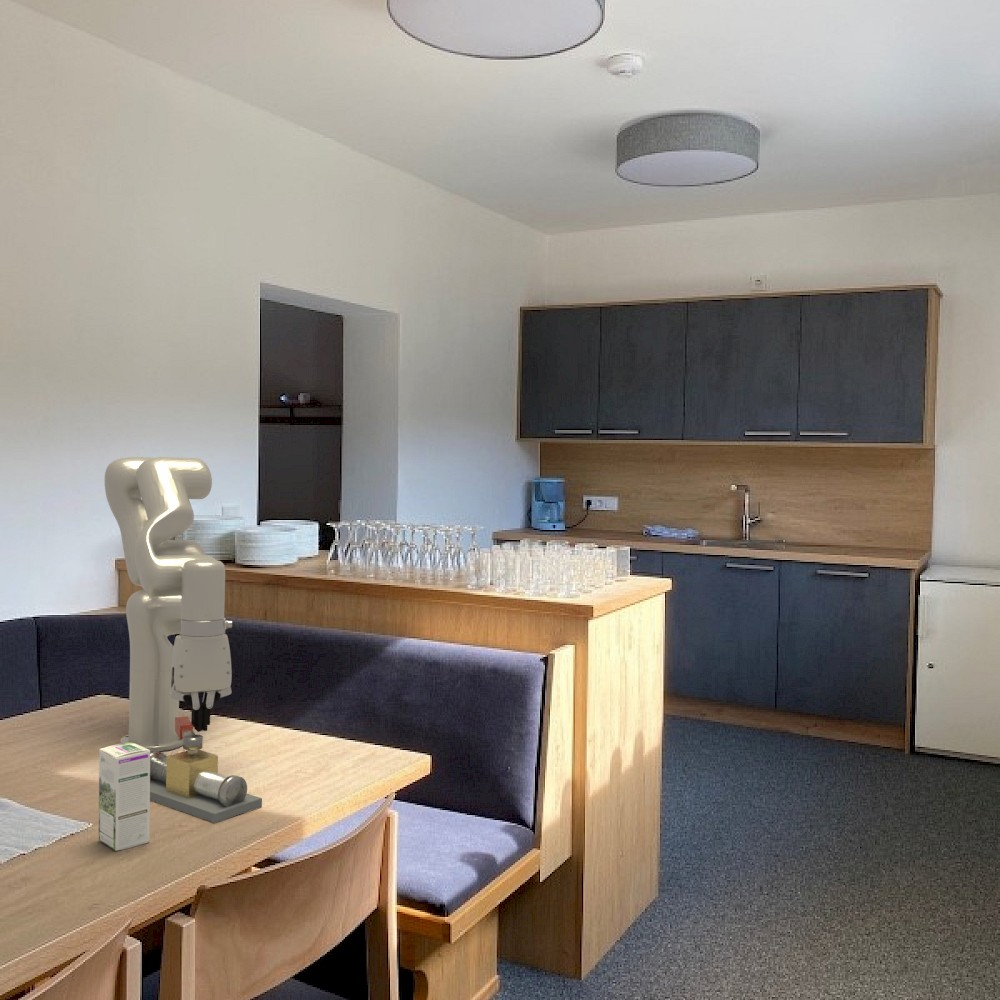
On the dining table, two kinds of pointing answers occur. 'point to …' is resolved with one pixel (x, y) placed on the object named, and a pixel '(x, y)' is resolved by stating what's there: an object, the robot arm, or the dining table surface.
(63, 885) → the dining table surface
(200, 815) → the slate board
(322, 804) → the dining table surface
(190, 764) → the valve pipe
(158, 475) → the robot arm
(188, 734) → the valve lever
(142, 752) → the syrup box
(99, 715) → the dining table surface
